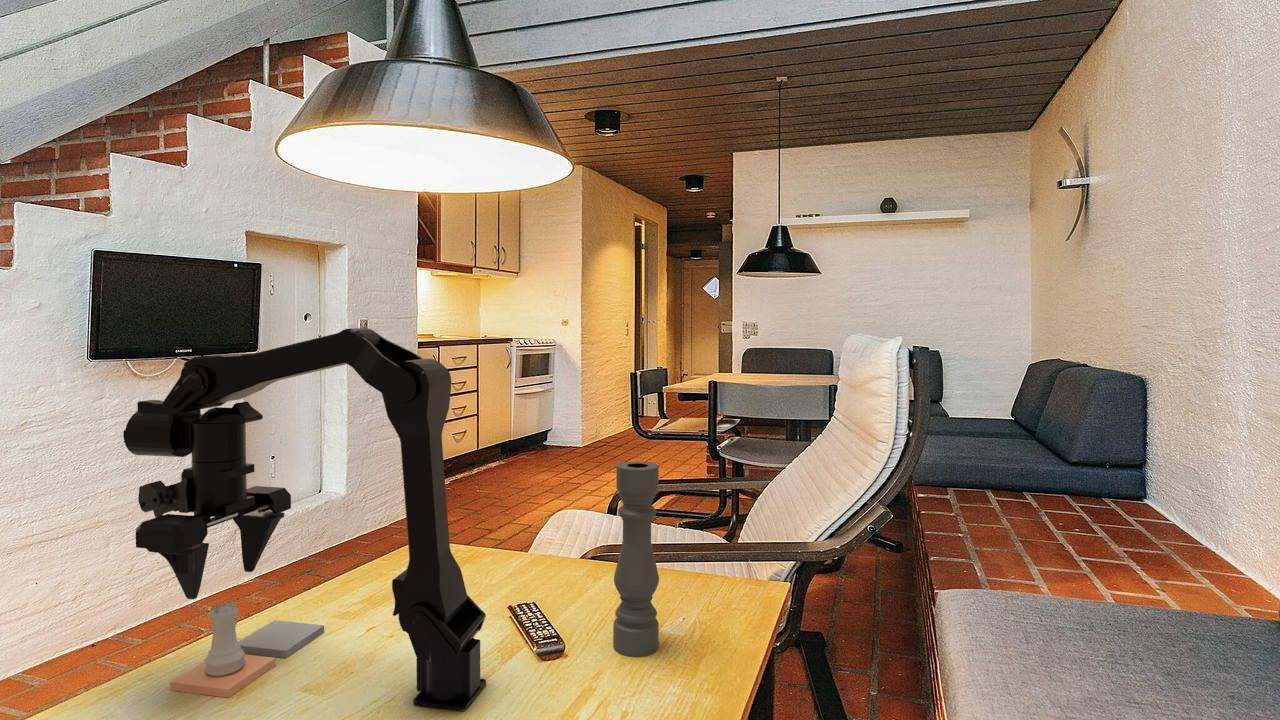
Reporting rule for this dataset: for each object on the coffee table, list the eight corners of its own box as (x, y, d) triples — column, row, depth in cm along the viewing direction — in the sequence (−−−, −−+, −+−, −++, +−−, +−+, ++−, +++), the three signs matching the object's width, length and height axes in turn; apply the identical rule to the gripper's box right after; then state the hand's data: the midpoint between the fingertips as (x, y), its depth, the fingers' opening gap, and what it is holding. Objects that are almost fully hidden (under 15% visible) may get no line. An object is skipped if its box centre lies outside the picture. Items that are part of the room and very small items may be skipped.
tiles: (324, 632, 102) (324, 625, 101) (228, 697, 84) (228, 689, 84) (274, 626, 103) (274, 620, 103) (169, 690, 85) (169, 682, 85)
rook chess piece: (236, 657, 92) (234, 595, 91) (252, 667, 89) (250, 604, 88) (198, 670, 88) (196, 606, 88) (212, 681, 85) (210, 616, 85)
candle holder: (605, 651, 96) (607, 467, 95) (623, 633, 102) (625, 459, 101) (648, 660, 94) (650, 472, 93) (664, 640, 100) (666, 463, 98)
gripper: (220, 442, 98) (222, 555, 99) (91, 470, 79) (95, 608, 80) (292, 446, 96) (294, 561, 96) (178, 476, 77) (181, 617, 78)
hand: (221, 584), depth 88 cm, fingers open, 9 cm apart
